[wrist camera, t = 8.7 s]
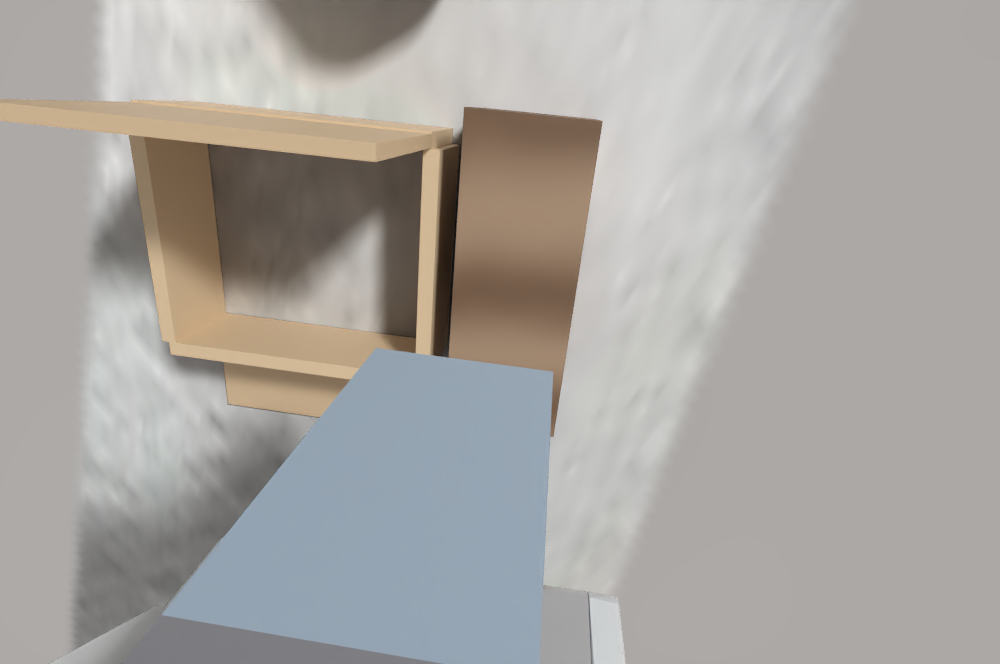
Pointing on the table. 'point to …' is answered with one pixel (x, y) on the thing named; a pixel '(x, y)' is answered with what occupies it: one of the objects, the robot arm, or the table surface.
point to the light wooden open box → (195, 249)
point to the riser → (520, 237)
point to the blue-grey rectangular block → (386, 531)
